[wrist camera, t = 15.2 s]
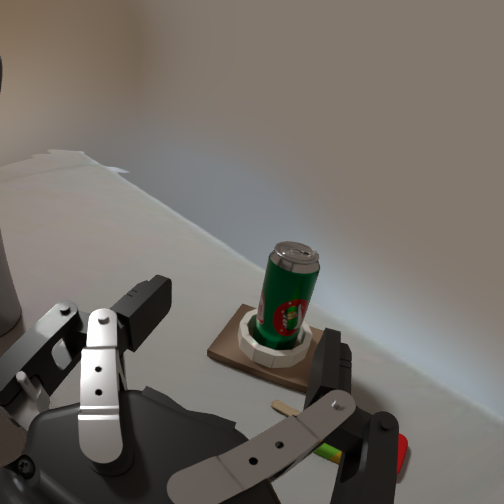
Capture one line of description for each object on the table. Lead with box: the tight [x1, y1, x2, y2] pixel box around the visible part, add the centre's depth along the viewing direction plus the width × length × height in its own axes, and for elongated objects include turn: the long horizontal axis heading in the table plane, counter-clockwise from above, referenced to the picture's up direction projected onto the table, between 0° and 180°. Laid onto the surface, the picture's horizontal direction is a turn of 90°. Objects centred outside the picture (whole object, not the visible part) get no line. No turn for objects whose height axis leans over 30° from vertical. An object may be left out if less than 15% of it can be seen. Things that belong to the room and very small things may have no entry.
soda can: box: [252, 242, 320, 350], centre depth 29 cm, size 5×5×12 cm
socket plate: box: [207, 304, 324, 393], centre depth 31 cm, size 12×10×3 cm
